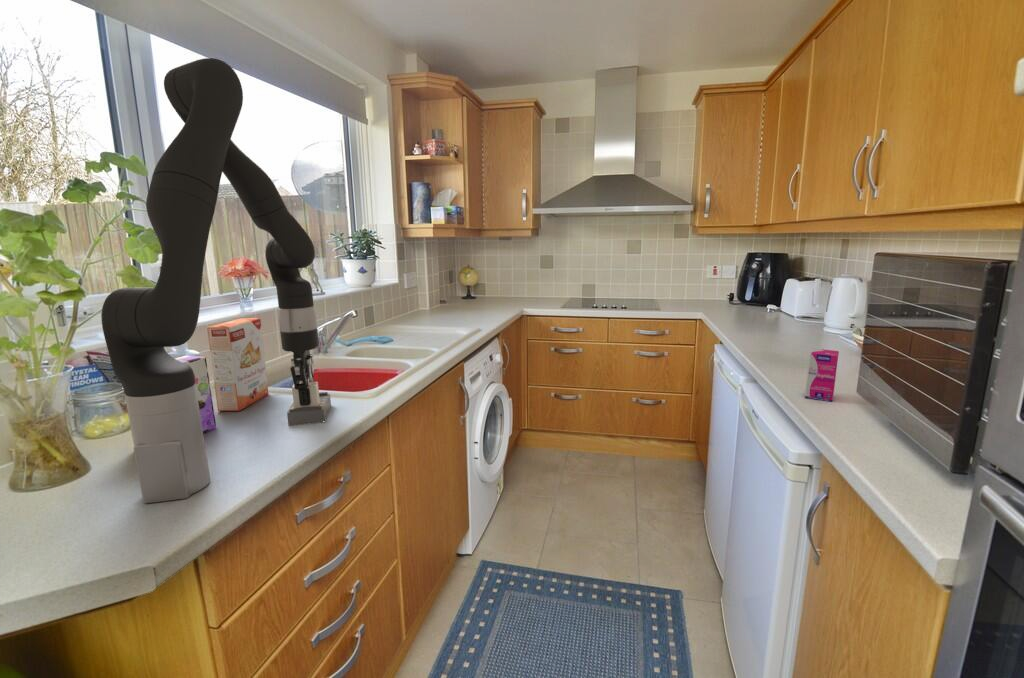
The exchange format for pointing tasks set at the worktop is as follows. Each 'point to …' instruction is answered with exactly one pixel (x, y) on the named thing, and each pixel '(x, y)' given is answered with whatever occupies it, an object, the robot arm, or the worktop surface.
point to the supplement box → (821, 374)
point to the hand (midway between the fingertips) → (306, 402)
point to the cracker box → (238, 363)
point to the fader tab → (313, 396)
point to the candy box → (202, 390)
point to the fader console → (310, 412)
